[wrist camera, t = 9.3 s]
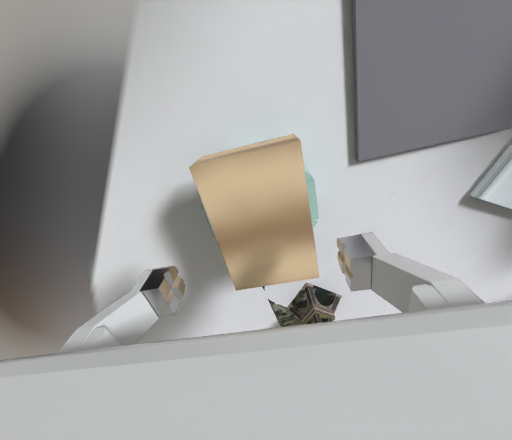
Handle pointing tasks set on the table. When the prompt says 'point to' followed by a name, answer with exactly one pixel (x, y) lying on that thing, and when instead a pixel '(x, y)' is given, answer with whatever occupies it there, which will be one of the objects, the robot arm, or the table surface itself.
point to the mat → (430, 72)
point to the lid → (260, 211)
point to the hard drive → (497, 182)
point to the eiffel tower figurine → (308, 307)
